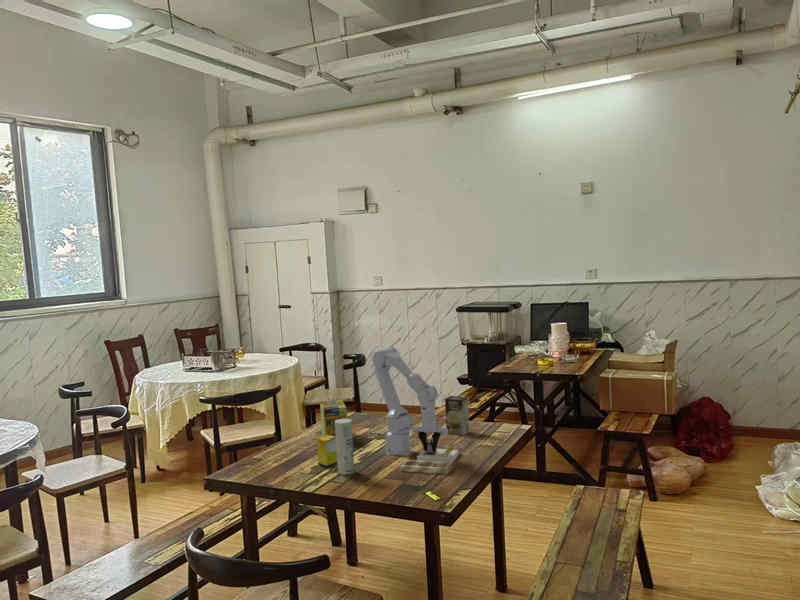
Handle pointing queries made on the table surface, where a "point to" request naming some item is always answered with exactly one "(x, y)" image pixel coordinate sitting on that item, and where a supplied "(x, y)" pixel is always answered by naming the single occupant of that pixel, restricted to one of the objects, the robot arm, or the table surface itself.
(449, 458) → the socket block
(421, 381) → the robot arm
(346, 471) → the spray can
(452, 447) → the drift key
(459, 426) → the coffee box
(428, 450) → the stepped metal cylinder
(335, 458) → the supplement box
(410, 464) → the rack
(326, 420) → the protein box
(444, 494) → the table surface
